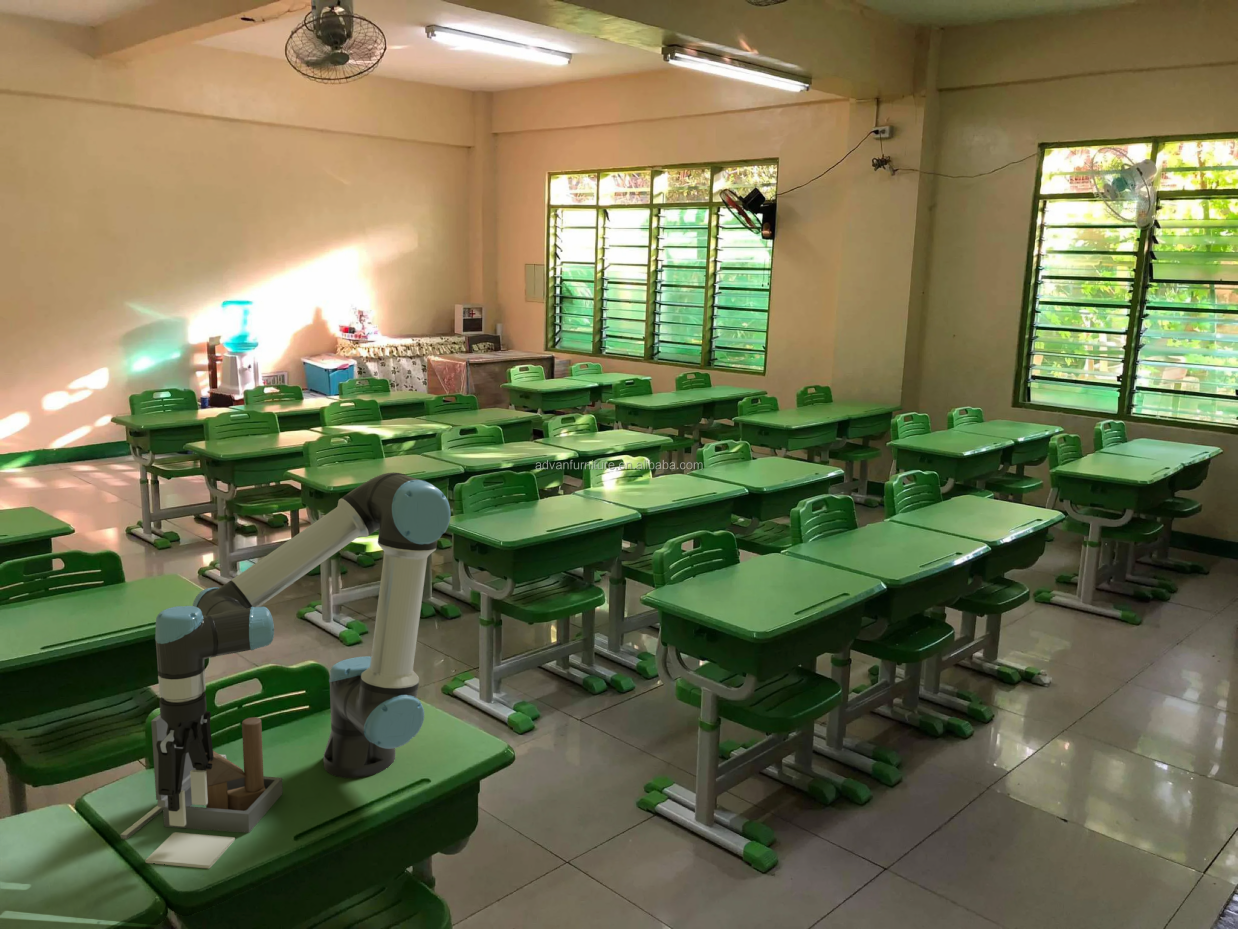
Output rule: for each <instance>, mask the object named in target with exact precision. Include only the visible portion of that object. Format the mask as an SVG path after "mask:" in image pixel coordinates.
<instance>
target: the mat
mask: <svg viewBox="0 0 1238 929" xmlns="http://www.w3.org/2000/svg"><path fill="white" fill-rule="evenodd" d="M235 840H236V838H235V837H233V836H222V835H221V836H220V835H211V834H209V835H208V834H201V833H199V834H198V833H186V832H172V833H171V835H169V837H167V838H166V839H165V840H164V841H163V842H162V843H161V844H160V845H159V846H158V847H157V848H156V849H155V850H154V851H153V852H152V853H151V854H149V856H148V857H147V858H146V859H145V863H146V864H153V863H155V864H156V865H164V864H165V866H167V865H168V866H177V867H178V866H179V867H189V868H200V869H208V870H209V869H211V868H212V866H214V864H215V863H216V862H217V861H218V860H219V859H220V858H221V857H222V855H224V853H225V852H226V851H227V849H229V847H230V846H231V845H232V844H233V843H234V842H235ZM155 864H154V865H155Z"/></svg>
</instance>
